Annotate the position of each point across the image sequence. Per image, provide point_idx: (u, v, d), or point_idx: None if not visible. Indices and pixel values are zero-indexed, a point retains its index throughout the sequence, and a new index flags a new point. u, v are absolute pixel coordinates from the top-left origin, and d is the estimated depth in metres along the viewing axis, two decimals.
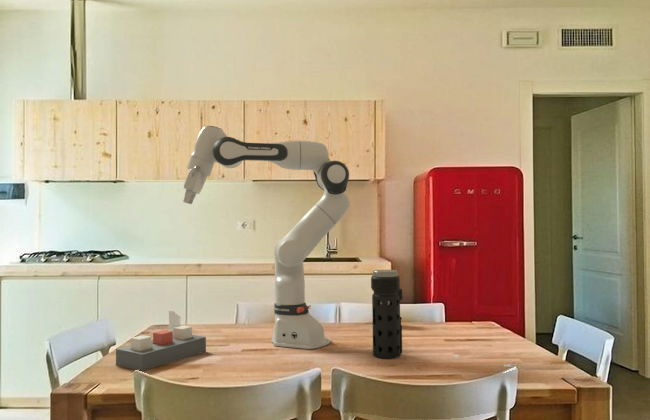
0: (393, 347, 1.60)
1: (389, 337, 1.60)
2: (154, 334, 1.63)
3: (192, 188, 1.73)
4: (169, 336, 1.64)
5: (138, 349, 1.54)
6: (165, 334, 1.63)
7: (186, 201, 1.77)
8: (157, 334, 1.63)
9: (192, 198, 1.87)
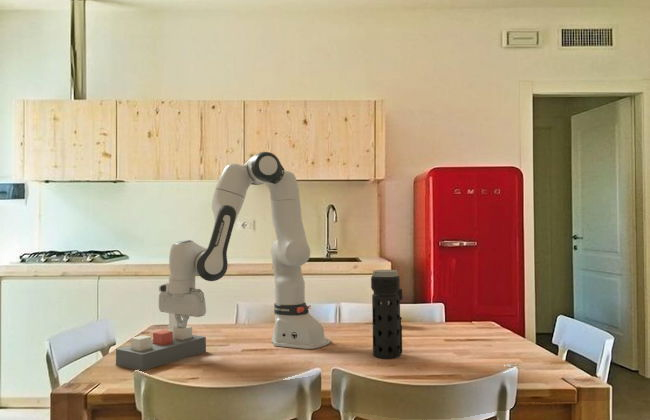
0: (393, 347, 1.60)
1: (389, 337, 1.60)
2: (154, 334, 1.63)
3: None
4: (169, 336, 1.64)
5: (138, 349, 1.54)
6: (165, 334, 1.63)
7: (185, 326, 1.71)
8: (157, 334, 1.63)
9: (180, 320, 1.73)
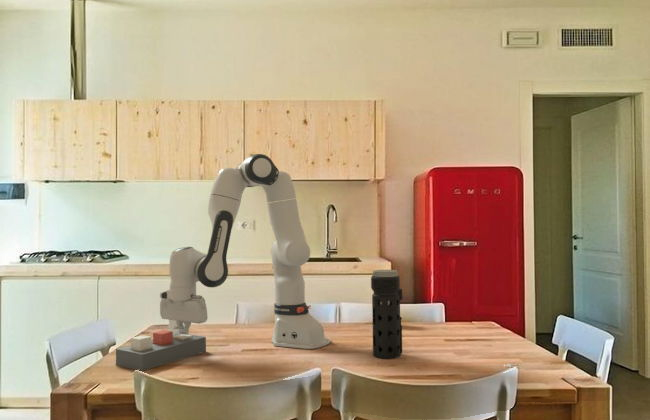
0: (393, 347, 1.60)
1: (389, 337, 1.60)
2: (154, 334, 1.63)
3: (206, 319, 1.68)
4: (169, 336, 1.64)
5: (138, 349, 1.54)
6: (165, 334, 1.63)
7: (187, 332, 1.71)
8: (157, 334, 1.63)
9: (182, 326, 1.73)
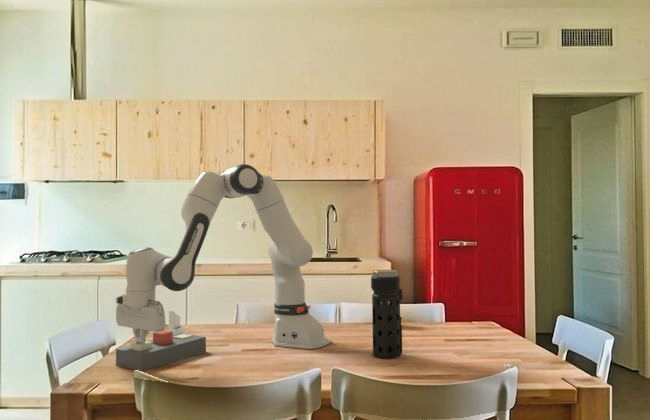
0: (393, 347, 1.60)
1: (389, 337, 1.60)
2: (154, 334, 1.63)
3: (164, 327, 1.53)
4: (169, 336, 1.64)
5: None
6: (165, 334, 1.63)
7: (144, 341, 1.57)
8: (157, 334, 1.63)
9: (139, 334, 1.58)
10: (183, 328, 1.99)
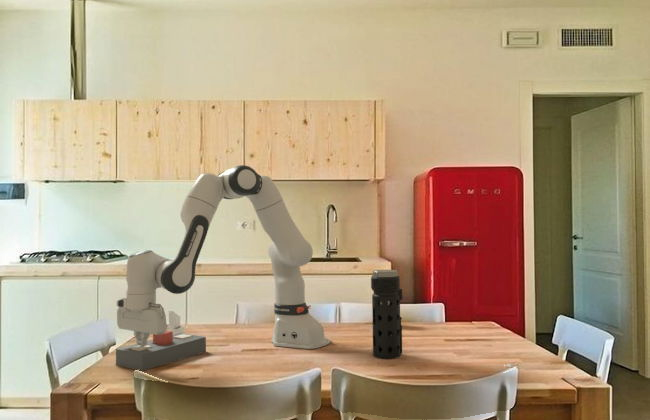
0: (393, 347, 1.60)
1: (389, 337, 1.60)
2: (154, 334, 1.63)
3: (165, 330, 1.53)
4: (169, 336, 1.64)
5: None
6: (165, 334, 1.63)
7: (145, 344, 1.57)
8: None
9: (140, 337, 1.58)
10: (183, 328, 1.99)
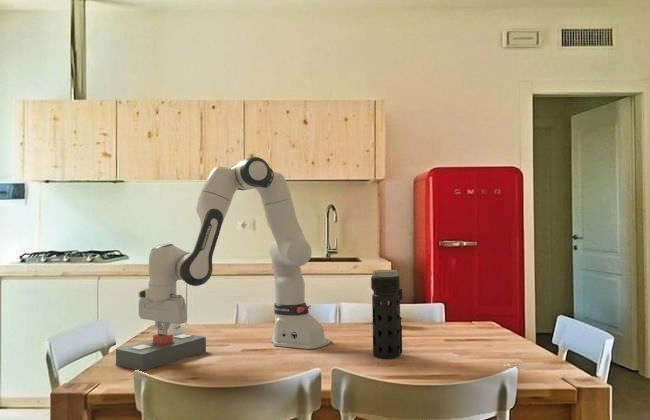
0: (393, 347, 1.60)
1: (389, 337, 1.60)
2: (154, 337, 1.63)
3: (186, 320, 1.60)
4: (169, 339, 1.64)
5: None
6: (165, 337, 1.63)
7: (165, 333, 1.64)
8: (157, 337, 1.63)
9: (161, 327, 1.65)
10: (183, 328, 1.99)
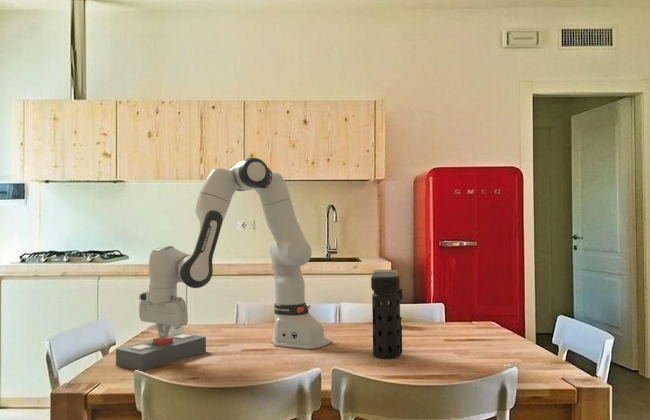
0: (393, 347, 1.60)
1: (389, 337, 1.60)
2: (154, 340, 1.63)
3: (186, 322, 1.60)
4: (169, 342, 1.64)
5: None
6: (165, 340, 1.63)
7: (166, 335, 1.64)
8: (157, 340, 1.63)
9: (162, 329, 1.65)
10: (183, 328, 1.99)
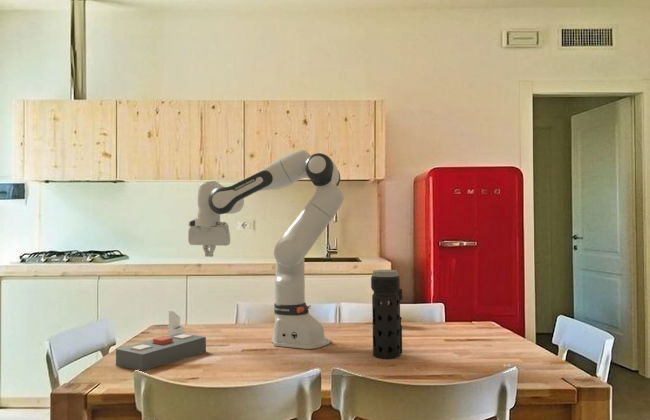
0: (393, 347, 1.60)
1: (389, 337, 1.60)
2: (154, 340, 1.63)
3: (229, 243, 1.94)
4: (169, 342, 1.64)
5: None
6: (165, 340, 1.63)
7: (212, 255, 1.97)
8: (157, 340, 1.63)
9: (208, 250, 1.99)
10: (183, 328, 1.99)
